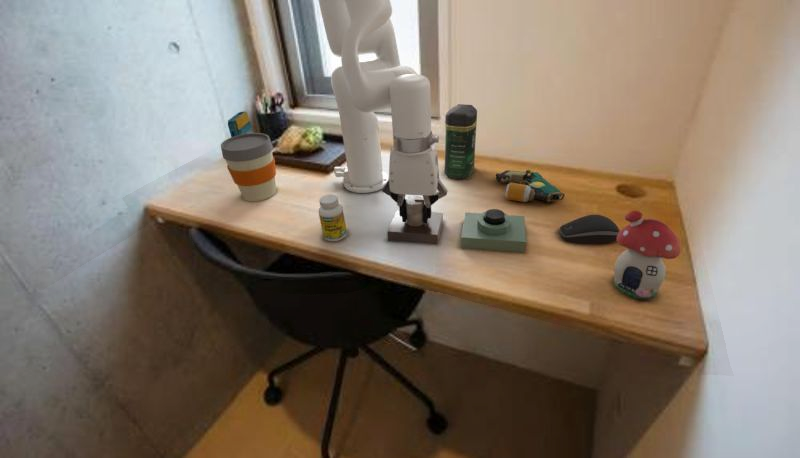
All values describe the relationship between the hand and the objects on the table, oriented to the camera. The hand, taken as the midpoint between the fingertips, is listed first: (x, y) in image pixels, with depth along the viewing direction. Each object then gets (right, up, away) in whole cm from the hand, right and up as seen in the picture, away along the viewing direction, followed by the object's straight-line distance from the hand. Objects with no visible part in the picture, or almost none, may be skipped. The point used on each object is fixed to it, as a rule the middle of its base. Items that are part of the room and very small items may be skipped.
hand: (415, 218), depth 92 cm
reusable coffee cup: (-42, +7, +22) cm, 48 cm away
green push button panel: (+17, -4, -2) cm, 17 cm away
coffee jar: (+14, +14, +26) cm, 32 cm away
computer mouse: (+37, -4, -3) cm, 37 cm away
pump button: (+17, -1, -4) cm, 17 cm away
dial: (0, -1, 0) cm, 1 cm away
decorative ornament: (+39, -13, -17) cm, 44 cm away
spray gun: (+29, +7, +15) cm, 33 cm away
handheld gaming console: (-51, +19, +40) cm, 67 cm away
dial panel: (0, -3, +2) cm, 3 cm away
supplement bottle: (-18, -4, +2) cm, 19 cm away
